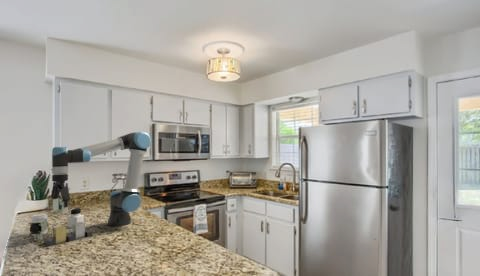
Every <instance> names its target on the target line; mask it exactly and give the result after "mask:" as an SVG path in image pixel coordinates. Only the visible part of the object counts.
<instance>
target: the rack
mask: <svg viewBox="0 0 480 276" xmlns="http://www.w3.org/2000/svg"><path fill="white" fill-rule="evenodd" d="M93 235H94V234H93V231H92V230H89V229H87V228H85V237H82V238H78V239H76V235H74V234H72V232H66V242H62V243H57V244H56V240H55V239H53V237H49V236H48V237H43V244H44V245H47V246H48V247H53V246H58V245H62V244H65V243H69V242H74V241H77V240H81V239H85V238H91V237H93Z"/></svg>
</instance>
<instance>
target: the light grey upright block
mask: <svg viewBox="0 0 480 276" xmlns="http://www.w3.org/2000/svg"><path fill="white" fill-rule="evenodd" d="M85 229H86V223H85V222H84V223H83V222H78V223H73V224H72V228H71V234H74V235H76V239H78V238H82V237H85ZM82 239H83V238H82ZM78 240H79V239H78Z"/></svg>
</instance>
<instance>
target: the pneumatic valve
mask: <svg viewBox="0 0 480 276" xmlns="http://www.w3.org/2000/svg"><path fill="white" fill-rule="evenodd" d="M48 222H49V221H48ZM48 222H47V219H38V220H36V221H34V222H32V221H31V223H30V227H29V232H30V235H31V234H35V235H34V236H33V237H34V238H33V241H42V240H44V237H43V236H44V235H43V233H42V232H43V231H45V230H46V228H47V227H49V226H48V225H49V224H48ZM40 233H41V234H40Z"/></svg>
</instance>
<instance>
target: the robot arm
mask: <svg viewBox="0 0 480 276" xmlns="http://www.w3.org/2000/svg"><path fill="white" fill-rule="evenodd" d="M151 144H152V139H151V136H150V134H149V133H147V132H146V131H137V132H130V133H127V134H124V135H121V136H118V137H117V138H114V139H111V140H106V141H103V142H99V143H96V144H95V143H94V144H91V145H88V146H82V147H80V148H75V149H68V146H54V147H53V148H52V150H51V151H52V153H51V161H52V164H51V167H52V168H51V169H50V170H51V172H52V175H51V181H52V189H51V194H50V198H51V200H52V212H53V211H59V198H60V196H59V195H61V198H62V199H61V213H62V214H68V213H69V201H70V200H71V197H70V190H69V187H68V185H69V184H68V181H69V174H68V173H69V164H76V163H79V164H81V163H89V162H90V161H91V160H92V158H93V157H97V156H101V155H104V154H108V153H112V152H115V151H118V150H121V151H123V150H128V151H129V152H130V153H129V159H128V161H129V162H128V166H127V172H126V177H125V184H124V188H122V189H121V190H115V191H114V190H113V191H111V193H110V196H109V197H110V200H109V201H110V204H109V205H110V208H109V209H110V214H109V216H108V220H107V226H109V227H123V226H126V225H130V224H131V223H132V218H131V215H130V213H132V212H133V213H134V212H136V211H137V210H138V209H140V206H141V205H142V199H141V197H140V194H141V191H140V190H139V184H140V180H141V179H140V178H141V174H142V173H141V172H142V166H143V160H144V155H145V154H146V153H147V150H148V148H149V147H150V146H151ZM66 181H67V182H66Z"/></svg>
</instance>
